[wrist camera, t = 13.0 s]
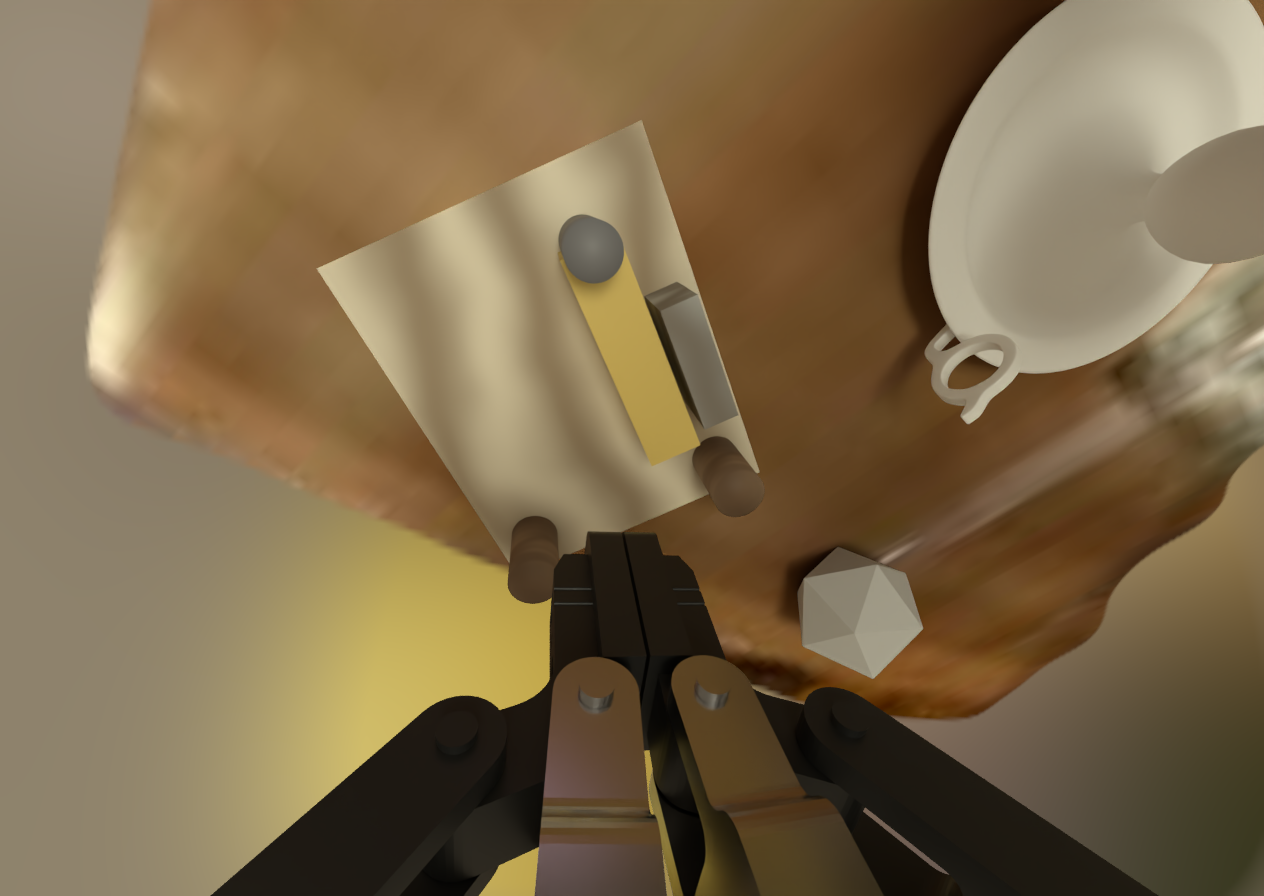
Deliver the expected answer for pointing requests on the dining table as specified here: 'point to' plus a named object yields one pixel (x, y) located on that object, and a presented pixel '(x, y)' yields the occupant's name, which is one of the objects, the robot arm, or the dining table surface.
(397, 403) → the dining table surface
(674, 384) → the bar
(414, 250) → the seat board
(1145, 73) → the candlestick
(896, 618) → the die
